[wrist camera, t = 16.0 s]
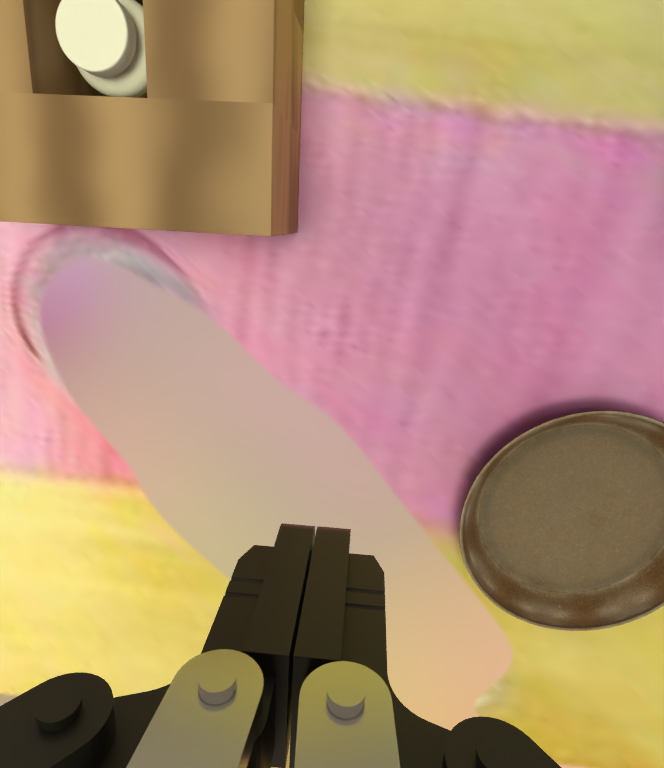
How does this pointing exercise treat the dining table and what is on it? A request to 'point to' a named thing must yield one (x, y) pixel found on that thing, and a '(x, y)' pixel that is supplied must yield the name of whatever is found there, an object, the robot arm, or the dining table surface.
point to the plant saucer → (571, 522)
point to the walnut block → (157, 122)
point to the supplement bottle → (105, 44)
